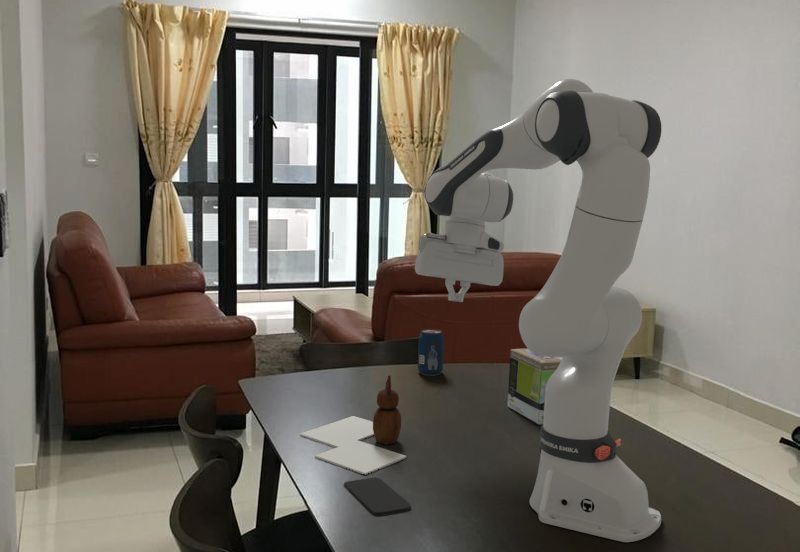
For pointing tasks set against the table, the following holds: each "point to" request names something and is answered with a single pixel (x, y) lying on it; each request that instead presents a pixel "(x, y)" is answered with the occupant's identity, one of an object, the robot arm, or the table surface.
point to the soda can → (430, 352)
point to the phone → (377, 496)
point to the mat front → (341, 431)
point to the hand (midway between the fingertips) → (455, 301)
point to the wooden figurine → (387, 416)
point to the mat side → (360, 457)
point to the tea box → (529, 382)
